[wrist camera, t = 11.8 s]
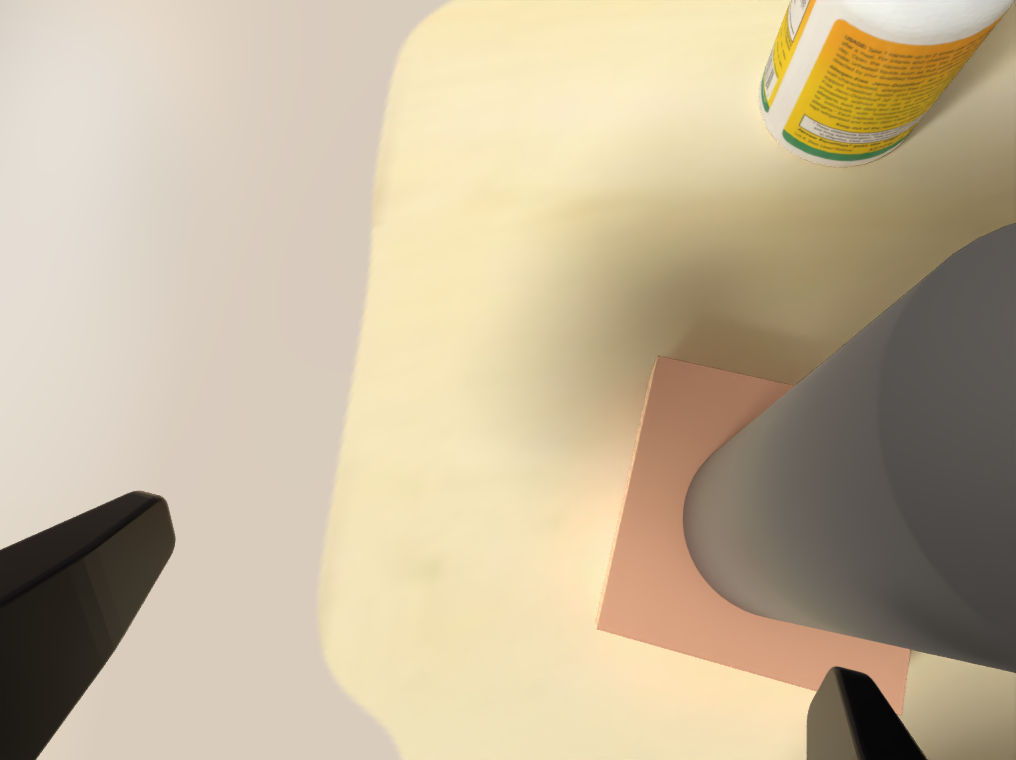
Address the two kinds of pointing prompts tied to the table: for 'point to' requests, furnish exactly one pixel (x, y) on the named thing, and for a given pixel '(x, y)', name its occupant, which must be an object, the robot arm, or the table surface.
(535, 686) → the table surface
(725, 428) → the terracotta block
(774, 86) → the supplement bottle
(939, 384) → the charcoal mill
